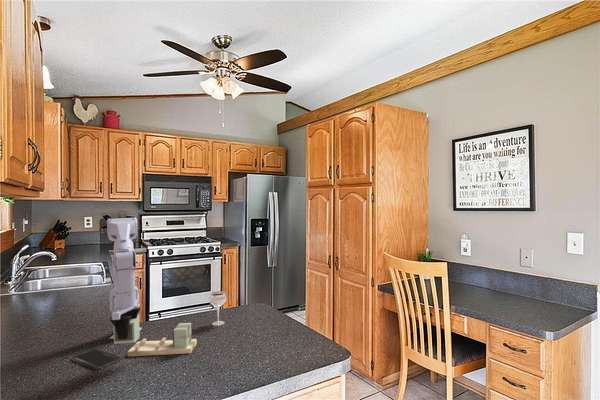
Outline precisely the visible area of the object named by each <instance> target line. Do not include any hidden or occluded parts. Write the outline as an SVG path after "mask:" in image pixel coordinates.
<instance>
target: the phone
mask: <svg viewBox="0 0 600 400" xmlns="http://www.w3.org/2000/svg"><path fill="white" fill-rule="evenodd" d="M71 360H72V361H73V362H75V363H77V364H79V365H82V366H84V367H85V368H86V367H87V368H89V369H90V370H93V371H100V370H103V369H104V368H107V367H109V366H111V365H114V364H117V363H119V362H120V361H121V356H117V355H115V354H112V353H109V352H107V351H105V350H102V349H100V348H93V349H91V350H88V351H85V352H82V353H80V354H76V355H74V356H73V357H72V359H71ZM116 362H117V363H116ZM102 368H103V369H102Z"/></svg>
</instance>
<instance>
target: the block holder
mask: <svg viewBox="0 0 600 400" xmlns="http://www.w3.org/2000/svg"><path fill="white" fill-rule="evenodd" d="M197 344H198V340H197V338H192V322H182V323H181V322H179V323H178V324H177V325H176V326H175V327H174V329H173V330H172V339H168V340H167V337H162V338H161V340H147V338H143V339H142V340H141V341H136V342H135V344H134V345H133V346H132V347H130V348H129V350H128V351H127V357H143V356H147V357H148V356H161V355H162V356H163V355H164V356H165V355H180V354H181V355H184V354H185V355H186V354H192V352H193V351H194V348H195V347H196V345H197Z"/></svg>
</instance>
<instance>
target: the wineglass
mask: <svg viewBox="0 0 600 400" xmlns="http://www.w3.org/2000/svg"><path fill="white" fill-rule="evenodd" d="M226 294H227V292H226V291H223V290H222V291H221V290H219V291H213V292H209V294H208V295H209V299H208V300H209V301H208V302H209V304H211V305H212V306H213V307H215V308H216V310H217V311H216V315H217V320H216V321H214V322H212V325H213V326H223V325H224V324H225V323H226V322H225V321H222V320H220V307H221V306H223V305H224V304H225V303H226V301H227V296H226Z"/></svg>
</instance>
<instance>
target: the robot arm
mask: <svg viewBox="0 0 600 400" xmlns="http://www.w3.org/2000/svg"><path fill="white" fill-rule="evenodd" d="M106 228H107V229H106V230H107V232H106V233H107V237H108V239H109V241H112V242H114V243H113V255H112V256H111V257H112V258H111V259H112V262H111V263H112V271H113V279H114V280H113V282H114V287H113V288H112V289H110V292H109V311H110V313H111V316H110V317H109V321H110V323H112V325H113V328H114V327H115V329H116V332H117V335H118V338H119V340H120V339H127V336H128V327H129V322H130V319H136V318H139V319H140V311H141V307H140V306H141V304H140V293H139V288H138V286H136V269H137V254H136V253H137V252H136V250H135V249H134V242H133V240H135V239H136V238H137V237H138V236H137V235H138V230H139V229H138V219H137V217H135V216H134V217H124V218H123V217H122V218H110V217H109V218H108V219H107V220H106ZM142 329H143V327H139V332H140V331H141V330H142ZM109 340H114V334H113V335H111V336H110V337H109Z"/></svg>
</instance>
